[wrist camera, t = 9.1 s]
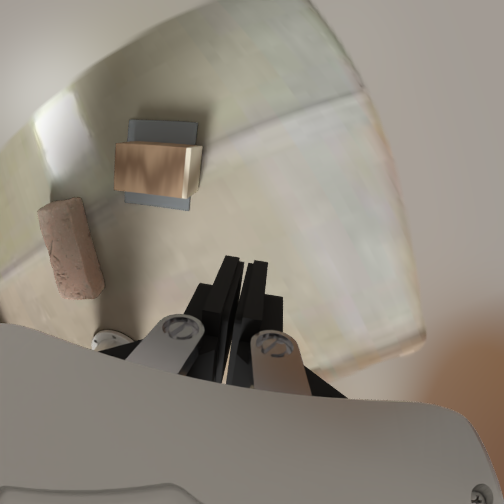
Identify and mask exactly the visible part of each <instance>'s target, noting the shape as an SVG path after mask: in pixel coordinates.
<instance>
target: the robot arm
mask: <svg viewBox="0 0 504 504" xmlns="http://www.w3.org/2000/svg"><path fill="white" fill-rule="evenodd" d="M267 267H268V262H263V261H257V260H254V264H252V263H248V267H247V271H246V275H245V279H244V283H243V287H242V291H241V295H240V289H241V282H242V275H243V268H244V262H240V261H239V258H238V257H232V256H225V258H224V260H223V263H222V265H221V267H220V270H219V272H218V274H217V277H216V279H215V281H214V283H213V285H209V284H203V283H200V284H199V285H198V287H197V289H196V291H195V293H194V295H193V297H192V299H191V301H190V303H189V305H188V307H187V308H186V310H185V312H184V314H174V315H169V316H167V317H164V318H163V319H162V320H160V321H159V322H158V323H157V325H156V326H155V327H154V328H153V329H152V330H151V331H150V332H149V334H148V335H147V336H146V337H145V338H144V339H142V340H138V341H135V342H134V341H133V340H132V339H130V338H129V337H127V336H126V335H124V334H122V333H120V332H117V331H113V330H102V331H100V332H98V333H97V334H96V335H95V336H94V337H93V339H92V350H91V349H88V348H85V347H82V346H80V345H77V344H74V343H71V342H69V341H66V340H63V339H60V338H58V337H55V336H52V335H49V334H46V333H44V332H41V331H38V330H35V329H32V328H28V327H25V326H20V325H15V324H6V323H0V504H504V499H503V496H502V492H501V489H500V485H499V482H498V479H497V476H496V474H495V471H494V468H493V466H492V463H491V460H490V458H489V455H488V453H487V451H486V449H485V447H484V445H483V443H482V441H481V439H480V437H479V435H478V433H477V432H476V430H475V429H474V427H473V426H472V424H471V423H470V422H469V421H468V420H467V419H466V418H465V417H464V416H463V415H461V414H459V413H458V412H456V411H453V410H451V409H448V408H445V407H441V406H438V405H434V404H427V403H422V402H412V401H391V400H368V399H348V398H347V397H345V396H344V395H343V394H341V393H340V392H339V391H337V390H336V389H335V388H333V387H332V386H331V385H329V384H328V383H326V382H325V381H324V380H322V379H321V378H320V377H319V376H317V375H316V374H315V373H313V372H312V371H311V370H309V369H308V368H307V367H305V366H304V365H303V361H302V357H301V354H300V350H299V347H298V344H297V342H296V341H295V340H294V339H293V338H292V337H291V336H289V335H288V334H286V333H283V297H280V296H274V295H267V294H265V286H266V277H267ZM239 296H240V299H239ZM231 341H232V343H231ZM230 345H231V351H230V358H229V366H228V373H227V381H226V384H221V383H222V379H223V375H224V371H225V367H226V362H227V358H228V354H229V350H230Z"/></svg>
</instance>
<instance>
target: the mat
mask: <svg viewBox="0 0 504 504" xmlns="http://www.w3.org/2000/svg"><path fill="white" fill-rule="evenodd" d="M197 127H198V123H195V122H180V121H160V120H129V128H128V140H127V142H130V141H144V142H161V143H175V144H187V145H195V144H196V135H197ZM125 202H126V203H134V204H141V205H149V206H156V207H163V208H171V209H178V210H185V211H189V207H190V197H189V198H187V199H183V198H176V197H168V196H160V195H152V194H144V193H135V192H126V191H125Z"/></svg>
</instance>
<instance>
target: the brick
mask: <svg viewBox="0 0 504 504" xmlns="http://www.w3.org/2000/svg"><path fill="white" fill-rule="evenodd" d="M37 213H38V219H39V224H40V229H41V232H42V235H43V238H44V241H45V244H46V247H47V249H48V250H49V251H48V252H49V256H50V262H51V265H52V268H53V270H54V275H55V280H56V284H57V287H58V290H59V293H60V296H61V297H62V298H64V299H74V300H82V299H95V298H97V297H98V296H99V295H100V293H101V292H102V291H103V289H104V288H105V284H104V279H103V275H102V272H101V270H100V264H99V262H98V258H97V255H96V251H95V248H94V245H93V241H92V238H91V234H90V230H89V227H88V224H87V218H86V214H85V211H84V207H83V203H82V200H81V198H79V197H77V198H75V197H73V198H72V199H68V200H63V201H62V200H61V201H54V202H51V203H49V204H47V205H45V206H44V207H42V208H40V209H39V210H38V211H37Z"/></svg>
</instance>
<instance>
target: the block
mask: <svg viewBox="0 0 504 504" xmlns="http://www.w3.org/2000/svg"><path fill="white" fill-rule="evenodd" d="M202 148H203V146H198V145H187V144H175V143H161V142H144V141H130V142H123V143H116V150H115V171H114V190H117V191H126V192H135V193H144V194H152V195H160V196H168V197H176V198H183V199H187V198H189V197H190V196H191V195H193V194H194V193H196V192H197V191H198V186H199V176H200V166H201V157H202Z"/></svg>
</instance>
